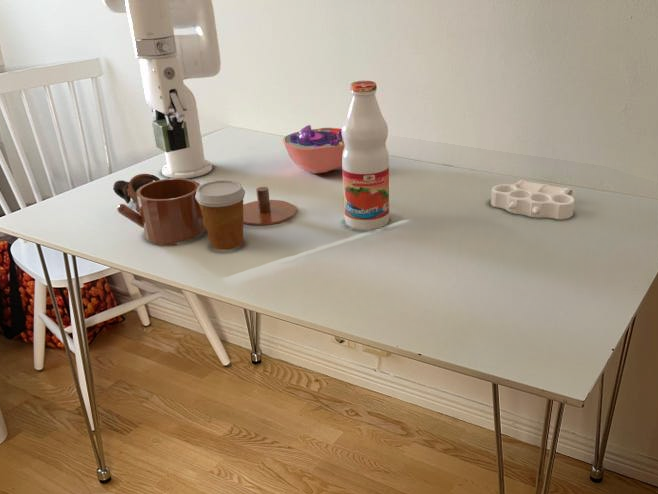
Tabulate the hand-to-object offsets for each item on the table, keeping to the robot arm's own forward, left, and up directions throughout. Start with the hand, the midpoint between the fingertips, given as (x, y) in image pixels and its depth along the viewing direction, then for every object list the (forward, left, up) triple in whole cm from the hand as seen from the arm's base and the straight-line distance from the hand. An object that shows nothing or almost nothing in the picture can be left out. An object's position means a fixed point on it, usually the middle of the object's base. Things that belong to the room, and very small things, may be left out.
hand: (172, 145), depth 139 cm
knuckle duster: (+38, +64, -18) cm, 77 cm away
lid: (+5, +16, -17) cm, 24 cm away
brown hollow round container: (+1, -3, -18) cm, 18 cm away
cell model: (-11, +42, -18) cm, 47 cm away
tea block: (0, 0, 0) cm, 0 cm away
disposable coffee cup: (+13, +3, -18) cm, 22 cm away
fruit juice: (+22, +31, -18) cm, 42 cm away
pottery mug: (-18, -3, -18) cm, 26 cm away
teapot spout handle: (+1, -3, -16) cm, 16 cm away
